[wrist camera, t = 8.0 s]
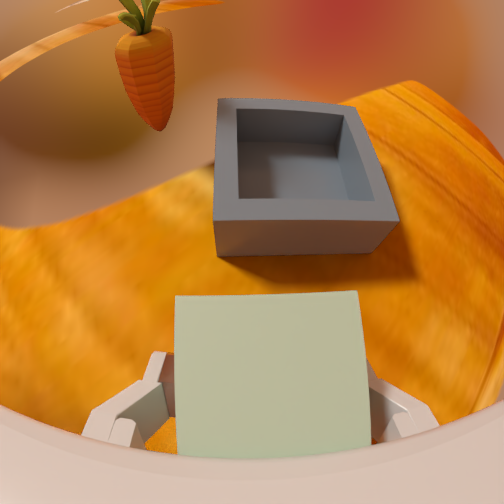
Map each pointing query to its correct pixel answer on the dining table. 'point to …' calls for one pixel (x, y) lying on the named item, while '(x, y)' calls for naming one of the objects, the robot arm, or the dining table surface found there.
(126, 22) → the carrot
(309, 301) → the sage block
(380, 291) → the dining table surface
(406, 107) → the dining table surface
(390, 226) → the gray open box
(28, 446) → the robot arm
